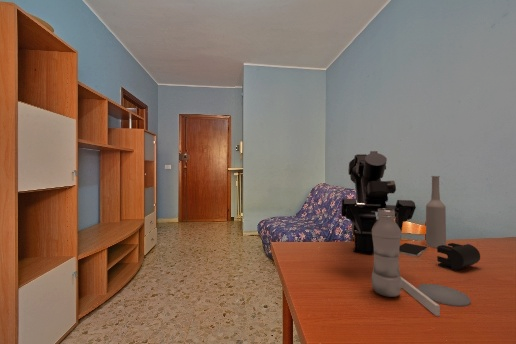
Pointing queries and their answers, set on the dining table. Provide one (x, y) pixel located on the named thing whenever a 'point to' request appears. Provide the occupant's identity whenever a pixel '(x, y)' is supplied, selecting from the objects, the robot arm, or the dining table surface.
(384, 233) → the plastic bottle
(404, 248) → the smartphone
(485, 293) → the dining table surface
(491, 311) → the dining table surface
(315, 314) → the dining table surface
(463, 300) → the slate mat
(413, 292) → the frosted wall
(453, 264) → the end cap
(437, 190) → the bottle
